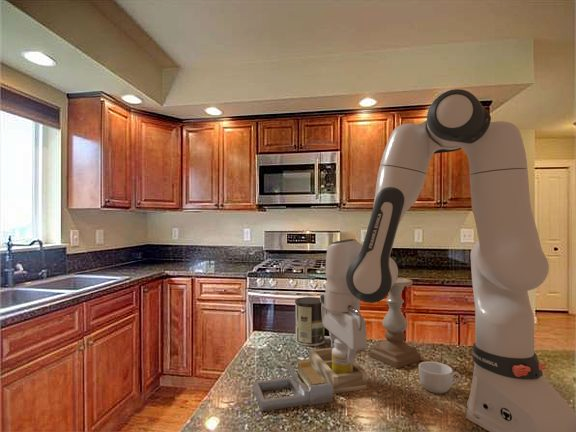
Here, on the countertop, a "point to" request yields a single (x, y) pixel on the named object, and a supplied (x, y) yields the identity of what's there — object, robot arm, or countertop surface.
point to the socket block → (301, 392)
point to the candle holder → (395, 332)
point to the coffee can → (309, 322)
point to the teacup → (436, 376)
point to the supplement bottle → (340, 358)
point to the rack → (340, 382)
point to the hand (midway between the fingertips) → (342, 354)
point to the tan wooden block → (308, 374)
